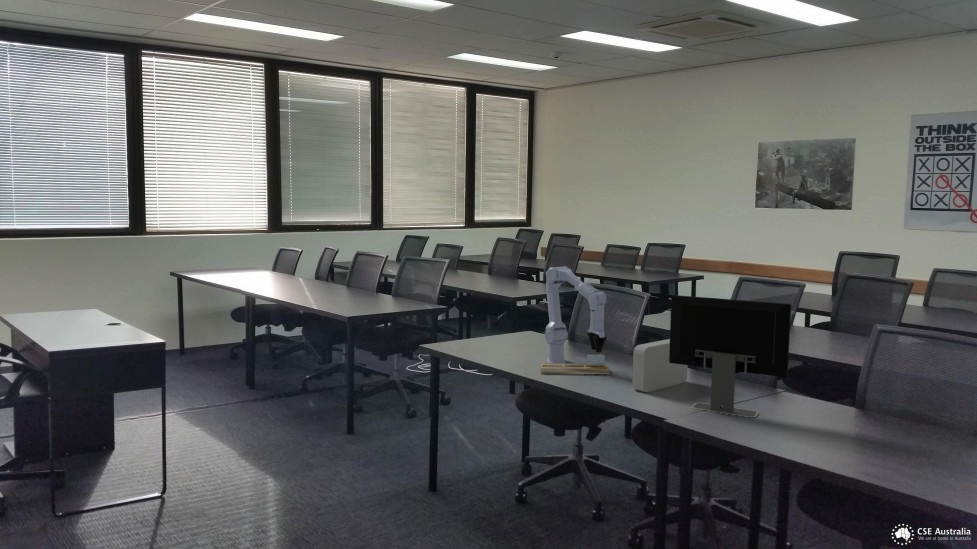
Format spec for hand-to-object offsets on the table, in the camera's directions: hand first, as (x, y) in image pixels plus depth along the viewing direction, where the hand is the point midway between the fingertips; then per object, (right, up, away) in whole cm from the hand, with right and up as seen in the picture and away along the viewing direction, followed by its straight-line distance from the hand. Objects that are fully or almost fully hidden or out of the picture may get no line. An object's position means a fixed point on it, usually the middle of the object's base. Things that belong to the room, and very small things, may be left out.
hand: (596, 350), depth 317 cm
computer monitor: (+38, -16, -55) cm, 68 cm away
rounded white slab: (+23, -12, -22) cm, 34 cm away
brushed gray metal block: (0, -8, +1) cm, 9 cm away
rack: (-9, -9, +1) cm, 13 cm away
